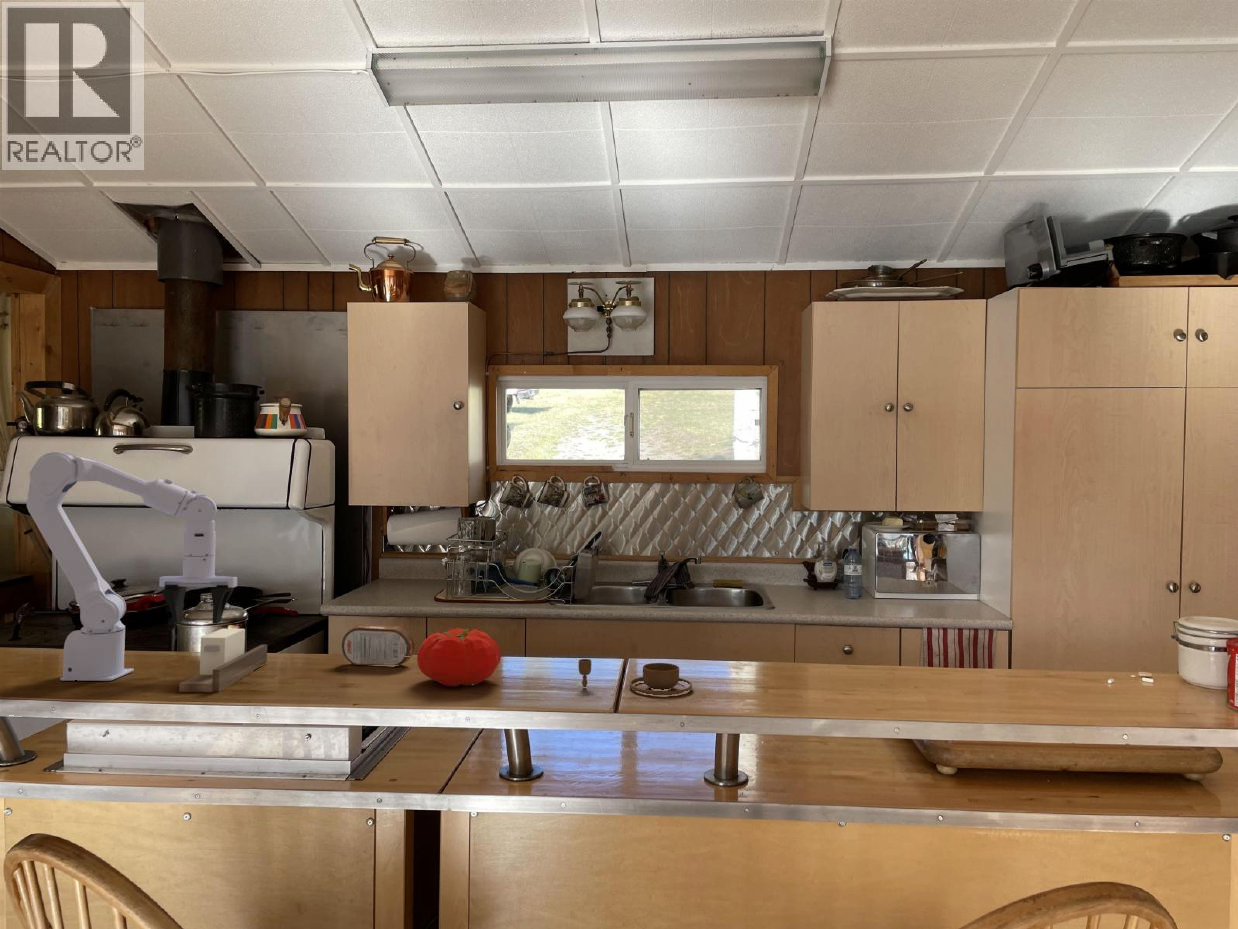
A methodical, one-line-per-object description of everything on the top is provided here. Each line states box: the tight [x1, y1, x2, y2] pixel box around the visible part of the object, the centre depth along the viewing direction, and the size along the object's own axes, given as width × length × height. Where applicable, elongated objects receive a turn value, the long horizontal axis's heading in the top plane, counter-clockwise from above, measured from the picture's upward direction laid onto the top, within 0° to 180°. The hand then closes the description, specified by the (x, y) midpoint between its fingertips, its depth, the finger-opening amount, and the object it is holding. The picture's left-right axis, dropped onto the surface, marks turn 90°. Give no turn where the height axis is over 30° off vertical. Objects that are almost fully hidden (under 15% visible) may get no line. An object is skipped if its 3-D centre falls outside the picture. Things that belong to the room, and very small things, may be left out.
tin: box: [341, 623, 415, 666], centre depth 166 cm, size 15×3×8 cm, turn 84°
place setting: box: [578, 658, 693, 695], centre depth 153 cm, size 18×20×6 cm
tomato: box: [416, 627, 502, 687], centre depth 153 cm, size 14×16×10 cm
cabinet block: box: [199, 628, 246, 675], centre depth 155 cm, size 4×10×7 cm, turn 3°
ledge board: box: [178, 644, 268, 693], centre depth 155 cm, size 7×22×4 cm, turn 3°
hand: (197, 622), depth 161 cm, fingers open, 7 cm apart
